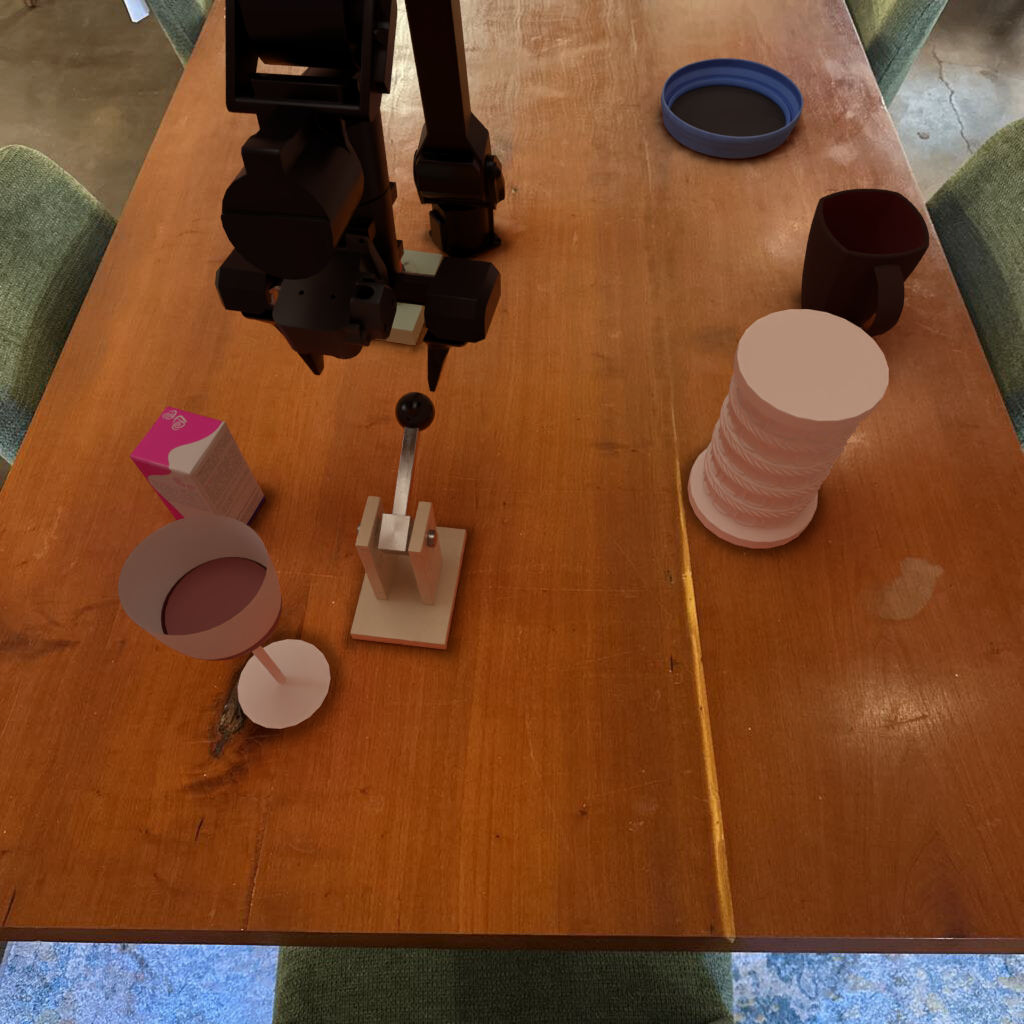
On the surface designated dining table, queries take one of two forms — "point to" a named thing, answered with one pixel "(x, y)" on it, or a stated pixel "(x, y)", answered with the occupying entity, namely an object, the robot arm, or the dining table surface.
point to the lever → (405, 472)
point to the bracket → (408, 581)
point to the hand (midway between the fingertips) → (376, 380)
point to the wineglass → (224, 612)
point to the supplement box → (197, 467)
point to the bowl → (730, 107)
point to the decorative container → (784, 424)
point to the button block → (411, 315)
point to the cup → (862, 256)
